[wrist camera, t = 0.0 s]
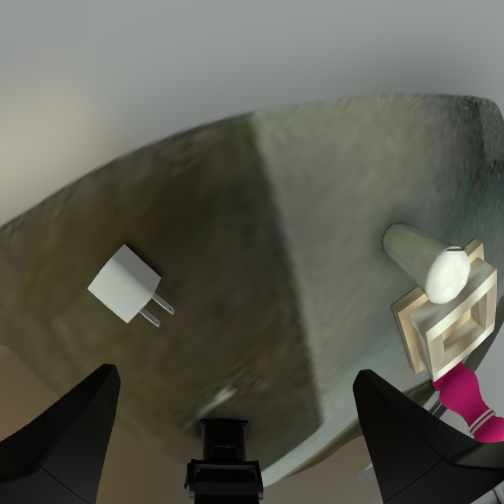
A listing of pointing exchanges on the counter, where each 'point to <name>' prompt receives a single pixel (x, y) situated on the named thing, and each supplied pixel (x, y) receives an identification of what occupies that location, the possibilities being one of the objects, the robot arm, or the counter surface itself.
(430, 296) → the milkshake
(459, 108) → the counter surface
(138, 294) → the usb wall charger
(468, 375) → the pepper mill
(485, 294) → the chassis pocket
